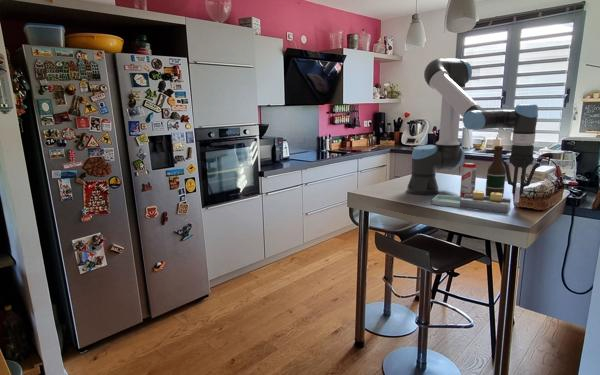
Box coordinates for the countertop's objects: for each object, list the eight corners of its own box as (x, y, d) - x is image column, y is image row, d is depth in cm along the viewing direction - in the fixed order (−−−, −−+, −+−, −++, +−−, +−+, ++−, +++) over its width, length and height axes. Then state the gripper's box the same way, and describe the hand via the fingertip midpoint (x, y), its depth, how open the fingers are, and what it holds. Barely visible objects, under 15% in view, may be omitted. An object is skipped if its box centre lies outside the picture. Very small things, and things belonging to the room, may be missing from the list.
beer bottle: (481, 194, 176) (485, 145, 170) (496, 194, 176) (501, 144, 171) (491, 198, 168) (495, 147, 163) (507, 198, 169) (512, 146, 163)
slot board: (459, 207, 156) (460, 199, 155) (464, 201, 164) (465, 193, 164) (507, 213, 146) (508, 204, 145) (510, 206, 154) (510, 198, 154)
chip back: (472, 201, 155) (473, 192, 154) (471, 199, 159) (472, 190, 158) (483, 202, 154) (484, 193, 153) (482, 199, 157) (482, 190, 156)
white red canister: (468, 198, 170) (470, 164, 166) (457, 195, 175) (459, 163, 172) (477, 196, 173) (479, 163, 169) (465, 193, 178) (468, 161, 175)
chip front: (489, 203, 152) (490, 194, 151) (491, 201, 155) (491, 192, 154) (500, 204, 149) (501, 195, 149) (501, 202, 153) (502, 193, 152)
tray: (430, 204, 162) (431, 199, 162) (437, 198, 171) (437, 194, 171) (459, 207, 155) (459, 203, 155) (464, 201, 165) (465, 197, 164)
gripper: (503, 144, 143) (497, 202, 148) (542, 146, 136) (535, 206, 141) (505, 142, 149) (499, 198, 154) (542, 144, 142) (535, 201, 147)
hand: (516, 201), depth 148 cm, fingers closed
